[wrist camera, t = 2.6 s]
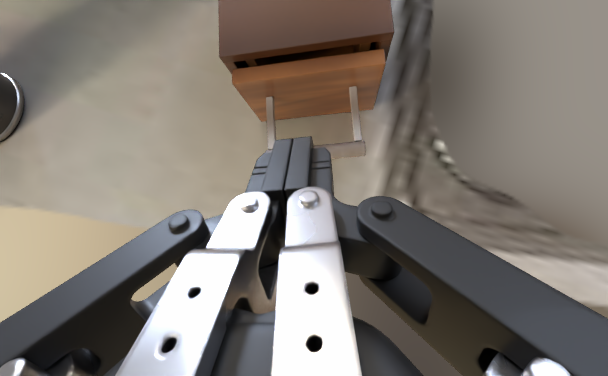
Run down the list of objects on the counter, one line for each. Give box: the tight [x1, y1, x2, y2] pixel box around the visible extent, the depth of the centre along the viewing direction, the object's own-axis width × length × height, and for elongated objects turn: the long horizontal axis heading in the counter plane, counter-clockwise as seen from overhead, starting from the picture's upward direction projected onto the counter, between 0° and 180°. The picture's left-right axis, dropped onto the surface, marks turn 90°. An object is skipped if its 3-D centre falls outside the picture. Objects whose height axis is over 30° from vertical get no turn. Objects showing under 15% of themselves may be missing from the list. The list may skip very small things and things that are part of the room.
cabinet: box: [218, 0, 394, 74], centre depth 25 cm, size 15×13×10 cm
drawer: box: [232, 43, 386, 159], centre depth 25 cm, size 19×11×8 cm, turn 3°
